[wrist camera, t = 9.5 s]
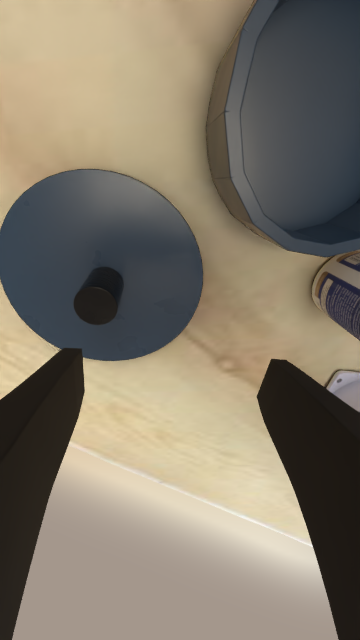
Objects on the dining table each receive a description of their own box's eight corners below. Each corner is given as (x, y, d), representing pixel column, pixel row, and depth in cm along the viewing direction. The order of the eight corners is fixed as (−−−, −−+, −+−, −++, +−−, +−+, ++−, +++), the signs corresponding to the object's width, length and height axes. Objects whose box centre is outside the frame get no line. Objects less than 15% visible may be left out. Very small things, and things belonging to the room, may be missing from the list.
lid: (181, 359, 22) (188, 400, 18) (17, 344, 20) (-17, 387, 16) (221, 194, 16) (244, 200, 12) (-11, 145, 14) (-80, 131, 10)
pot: (348, 251, 19) (400, 271, 15) (187, 220, 17) (197, 234, 13) (468, 13, 13) (607, -59, 9) (243, -80, 11) (296, -228, 7)
